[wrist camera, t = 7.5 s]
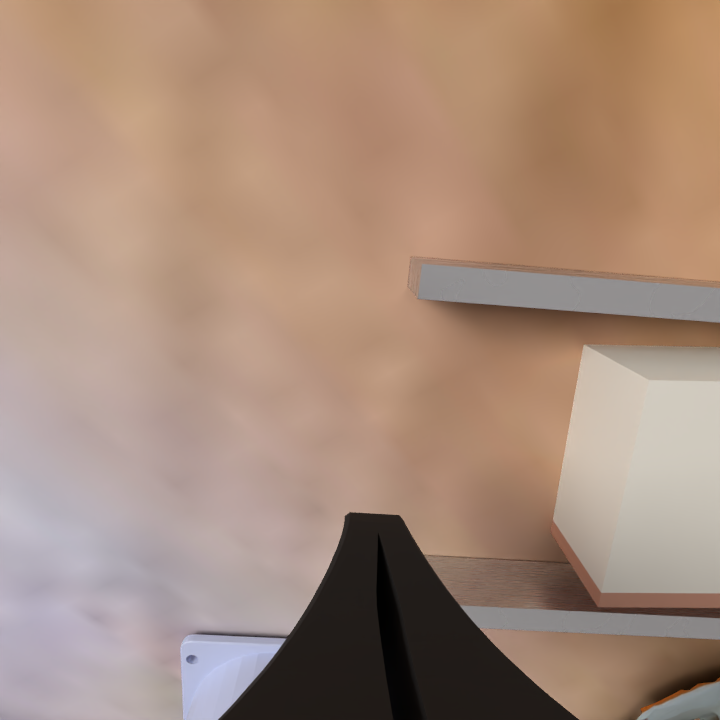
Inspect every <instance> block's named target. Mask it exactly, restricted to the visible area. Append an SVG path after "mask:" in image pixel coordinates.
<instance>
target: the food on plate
mask: <svg viewBox="0 0 720 720" xmlns="http://www.w3.org/2000/svg"><path fill="white" fill-rule="evenodd" d="M641 711H642V714H641V716H640V717H639V718H638V719H637V720H645V719H647V718H648V719H647V720H694V719H697V718H699V719H700V720H720V677H719V678H718V679H717V680H716V681H715V682H709V683H700V684H697V685H696V686H694V687H693V688H692V689H690V690H680V691H678V692H676V693H674V694H672V695H670V696H668V697H666V698H664V699H662V700H660V701H658V702H656V703H654V704H651V705H648V706H646V707H643V708H641Z"/></svg>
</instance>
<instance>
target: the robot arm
mask: <svg viewBox="0 0 720 720" xmlns="http://www.w3.org/2000/svg"><path fill="white" fill-rule="evenodd" d="M180 651H181V674H182V696H183V718H184V720H579V719H577V718H576V717H575V716H574V715H572V714H571V713H570V712H569V711H567V710H566V709H565V708H564V707H563V706H561V705H560V704H559V703H558V702H556V701H555V700H554V699H553V698H551V697H550V696H549V695H548V694H547V693H546V692H544V691H543V690H542V689H541V688H540V687H539V686H537V685H536V684H535V683H534V682H533V681H532V680H531V679H530V678H529V677H528V676H526V675H525V674H524V673H523V672H522V671H521V670H520V669H519V668H518V667H517V666H516V665H515V664H514V663H512V662H511V661H510V660H509V659H508V658H507V657H506V656H505V655H504V654H503V653H502V652H501V651H500V650H499V649H498V648H497V647H496V646H495V645H494V644H493V643H492V642H491V641H490V640H489V639H488V638H487V636H486V635H485V634H484V633H483V632H482V631H481V630H480V629H479V628H478V627H477V625H476V624H475V623H474V622H473V621H472V620H471V618H470V617H469V616H468V615H467V614H466V612H465V611H464V610H463V609H462V608H461V606H460V605H459V604H458V602H457V601H456V600H455V599H454V597H453V596H452V595H451V594H450V592H449V591H448V590H447V588H446V587H445V585H444V584H443V583H442V581H441V580H440V579H439V577H438V576H437V574H436V573H435V571H434V570H433V568H432V567H431V565H430V564H429V563H428V561H427V560H426V558H425V556H424V555H423V553H422V552H421V550H420V549H419V547H418V545H417V544H416V542H415V540H414V539H413V537H412V535H411V534H410V532H409V530H408V528H407V526H406V525H405V523H404V521H403V519H402V518H401V517H400V516H399V515H386V514H369V513H351V512H350V513H349V514H347V515H346V516H345V522H344V528H343V532H342V535H341V538H340V541H339V544H338V547H337V550H336V552H335V554H334V556H333V559H332V561H331V563H330V566H329V568H328V570H327V572H326V574H325V576H324V578H323V580H322V582H321V584H320V586H319V587H318V589H317V591H316V593H315V595H314V597H313V599H312V600H311V602H310V604H309V605H308V607H307V609H306V610H305V612H304V614H303V615H302V617H301V618H300V620H299V621H298V623H297V624H296V626H295V627H294V629H293V630H292V632H291V633H290V635H289V636H288V637H287V639H286V638H264V637H242V636H221V635H199V634H193V635H189V636H186V637H185V638H184V640H183V642H182V645H181V649H180ZM194 655H195V656H194Z"/></svg>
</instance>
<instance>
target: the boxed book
mask: <svg viewBox="0 0 720 720" xmlns="http://www.w3.org/2000/svg"><path fill="white" fill-rule="evenodd" d="M551 534H552V535H553V537H554V538H555V540H556V542H557V543H558V545H559V546H560V548H561V550H562V551H563V553H564V554H565V556H566V557H567V559H568V561H569V562H570V564H571V565H572V567H573V569H574V570H575V572H576V573H577V575H578V576H579V578H580V580H581V581H582V583H583V584H584V586H585V588H586V589H587V591H588V592H589V594H590V595H591V597H592V599H593V600H594V602H595V603H596V605H597V607H641V608H720V347H693V346H641V345H590V344H584V346H583V352H582V358H581V363H580V369H579V375H578V380H577V386H576V392H575V397H574V403H573V409H572V414H571V420H570V426H569V431H568V437H567V443H566V448H565V454H564V460H563V465H562V471H561V476H560V482H559V488H558V493H557V499H556V505H555V510H554V516H553V522H552V527H551Z"/></svg>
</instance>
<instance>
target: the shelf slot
mask: <svg viewBox="0 0 720 720" xmlns="http://www.w3.org/2000/svg"><path fill="white" fill-rule="evenodd" d="M408 288H409V289H410V290H411V291H412V292H413V294H414V295H415V296H416V297H417V299H426V300H438V301H451V302H464V303H477V304H489V305H502V306H515V307H528V308H540V309H553V310H566V311H579V312H591V313H604V314H617V315H630V316H642V317H655V318H668V319H681V320H693V321H706V322H719V323H720V282H714V281H702V280H690V279H678V278H666V277H654V276H641V275H629V274H617V273H605V272H593V271H581V270H569V269H556V268H544V267H532V266H520V265H508V264H496V263H484V262H471V261H459V260H447V259H435V258H423V257H411V260H410V269H409V278H408ZM425 558H426V560H427V561H428V563H429V564H430V565H431V567H432V568H433V570H434V571H435V573H436V574H437V576H438V577H439V579H440V580H441V581H442V583H443V584H444V585H445V587H446V588H447V590H448V591H449V592H450V594H451V595H452V596H453V597H454V599H455V600H456V601H457V602H458V604H459V605H460V606H461V608H462V609H463V610H464V611H465V612H466V614H467V615H468V616H469V617H470V618H471V620H472V621H473V622H474V623H475V624H476V625H477V627H478V628H489V629H510V630H531V631H552V632H573V633H594V634H615V635H636V636H657V637H678V638H699V639H720V608H641V607H597V605H596V603H595V602H594V600H593V599H592V597H591V595H590V594H589V592H588V591H587V589H586V588H585V586H584V584H583V583H582V581H581V580H580V578H579V576H578V575H577V573H576V572H575V570H574V569H573V567H572V565H571V564H570V563H553V562H534V561H516V560H498V559H479V558H461V557H442V556H425Z"/></svg>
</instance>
